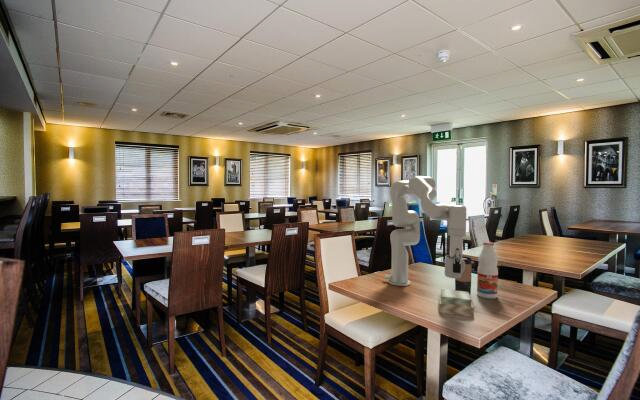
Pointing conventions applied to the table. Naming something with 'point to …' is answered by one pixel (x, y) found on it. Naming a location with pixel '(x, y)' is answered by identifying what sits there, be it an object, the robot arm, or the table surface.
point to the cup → (449, 267)
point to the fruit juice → (487, 272)
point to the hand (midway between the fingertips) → (456, 270)
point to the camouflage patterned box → (455, 303)
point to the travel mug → (464, 277)
